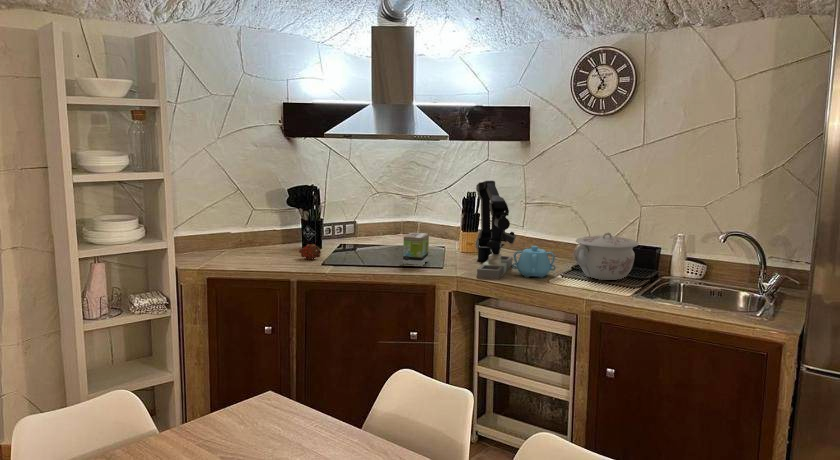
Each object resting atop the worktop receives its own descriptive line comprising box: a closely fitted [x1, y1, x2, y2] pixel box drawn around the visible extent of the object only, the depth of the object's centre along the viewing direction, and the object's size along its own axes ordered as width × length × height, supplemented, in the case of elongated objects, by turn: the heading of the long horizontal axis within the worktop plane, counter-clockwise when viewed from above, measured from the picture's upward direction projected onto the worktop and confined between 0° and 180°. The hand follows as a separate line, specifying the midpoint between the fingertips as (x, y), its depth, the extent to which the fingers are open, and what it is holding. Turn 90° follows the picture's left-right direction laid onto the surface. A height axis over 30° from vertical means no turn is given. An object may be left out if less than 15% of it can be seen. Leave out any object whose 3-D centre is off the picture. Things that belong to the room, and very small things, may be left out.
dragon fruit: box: [298, 243, 322, 260], centre depth 336 cm, size 8×8×12 cm
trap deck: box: [476, 255, 513, 281], centre depth 313 cm, size 10×34×4 cm, turn 162°
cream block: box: [488, 253, 502, 265], centre depth 310 cm, size 5×5×4 cm
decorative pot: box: [511, 245, 556, 279], centre depth 304 cm, size 16×16×14 cm
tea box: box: [402, 232, 430, 265], centre depth 326 cm, size 15×10×15 cm
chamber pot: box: [573, 232, 639, 280], centre depth 300 cm, size 28×28×21 cm
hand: (496, 259), depth 314 cm, fingers closed
